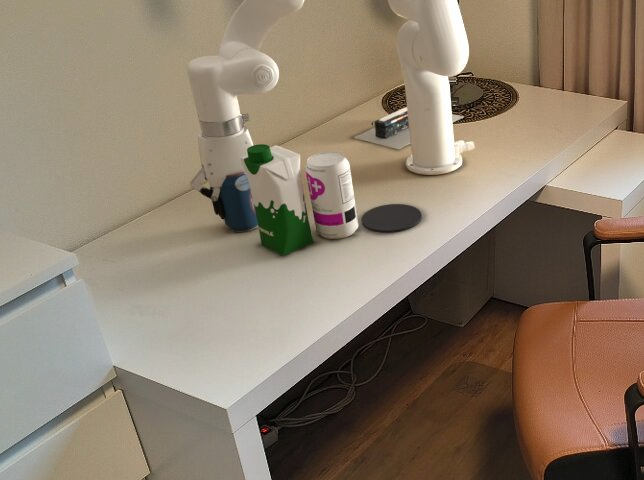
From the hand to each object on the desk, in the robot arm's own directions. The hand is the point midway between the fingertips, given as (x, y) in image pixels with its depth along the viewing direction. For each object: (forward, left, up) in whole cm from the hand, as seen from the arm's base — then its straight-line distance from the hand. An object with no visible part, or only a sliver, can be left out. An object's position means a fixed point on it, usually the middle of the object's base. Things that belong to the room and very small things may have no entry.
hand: (241, 211), depth 179 cm
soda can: (0, 0, -3) cm, 3 cm away
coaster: (-26, +13, -3) cm, 29 cm away
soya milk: (-5, +12, -3) cm, 14 cm away
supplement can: (-15, +12, -3) cm, 20 cm away
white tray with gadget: (-50, -32, -3) cm, 59 cm away
